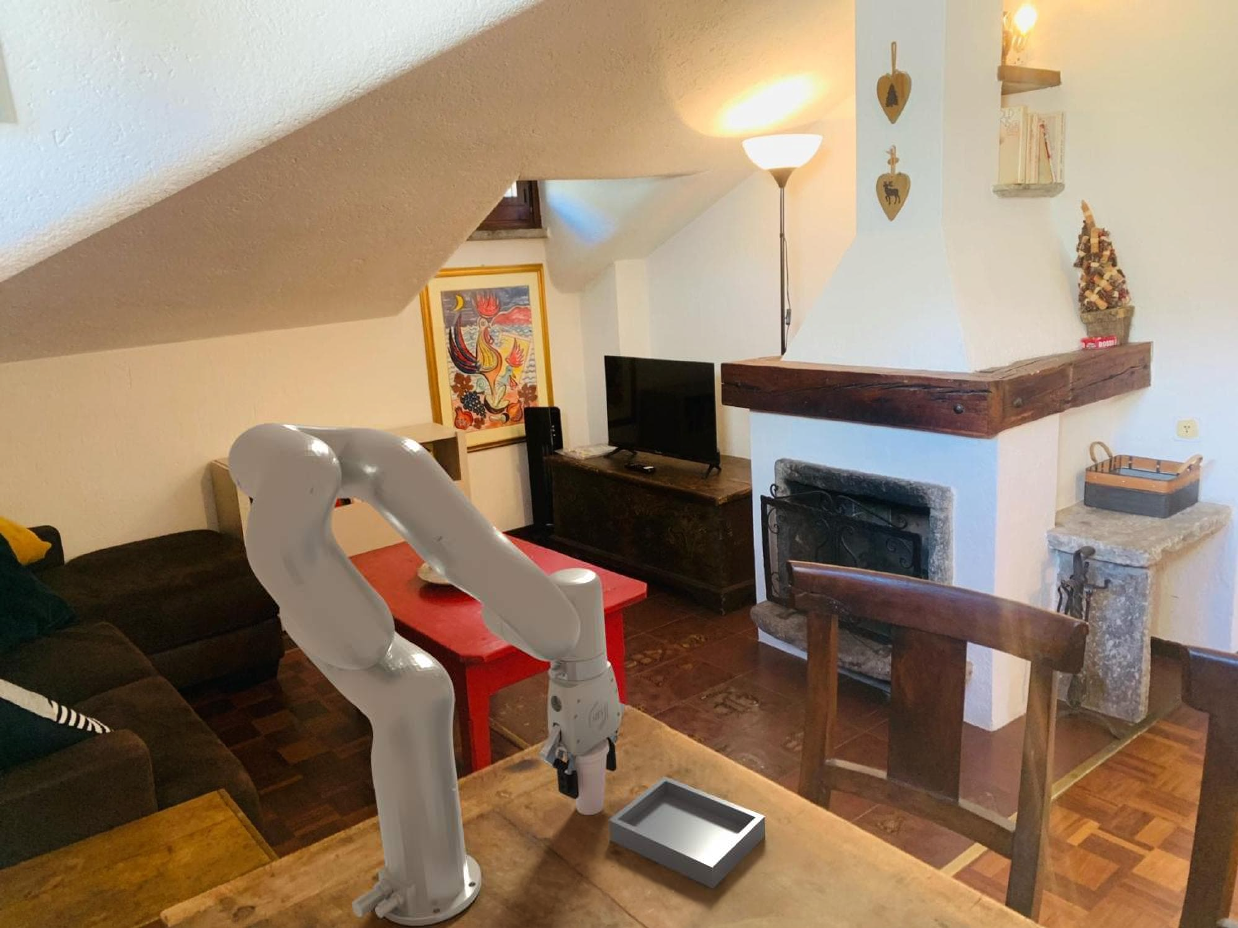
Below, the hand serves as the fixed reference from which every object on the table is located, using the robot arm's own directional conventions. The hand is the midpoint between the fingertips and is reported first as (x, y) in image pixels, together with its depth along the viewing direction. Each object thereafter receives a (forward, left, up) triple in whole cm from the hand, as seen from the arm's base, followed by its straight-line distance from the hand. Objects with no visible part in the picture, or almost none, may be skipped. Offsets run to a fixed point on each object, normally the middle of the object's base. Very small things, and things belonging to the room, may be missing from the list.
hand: (588, 780), depth 127 cm
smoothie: (0, 0, -4) cm, 4 cm away
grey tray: (+2, -15, -4) cm, 16 cm away
